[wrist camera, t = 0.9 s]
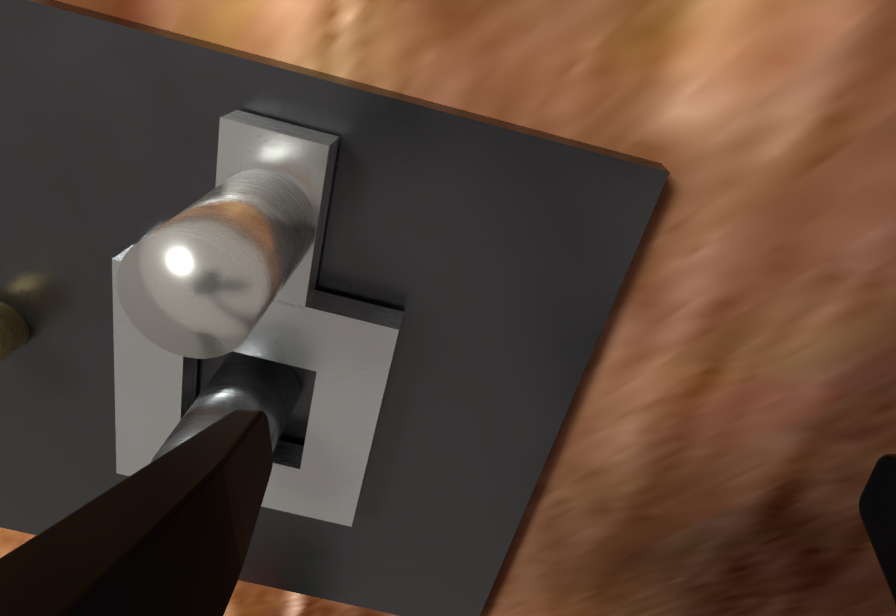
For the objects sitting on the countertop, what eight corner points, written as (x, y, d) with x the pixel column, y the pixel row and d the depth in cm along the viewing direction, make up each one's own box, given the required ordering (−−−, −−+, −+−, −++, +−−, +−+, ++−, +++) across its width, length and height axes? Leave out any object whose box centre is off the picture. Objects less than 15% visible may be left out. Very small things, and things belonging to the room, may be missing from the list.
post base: (473, 611, 29) (469, 753, 23) (5, 507, 27) (-113, 631, 22) (661, 163, 18) (728, 233, 13) (-74, -35, 17) (-328, -46, 12)
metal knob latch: (357, 503, 24) (316, 656, 19) (133, 451, 24) (22, 593, 18) (440, 163, 18) (415, 242, 12) (132, 82, 17) (-43, 125, 12)
